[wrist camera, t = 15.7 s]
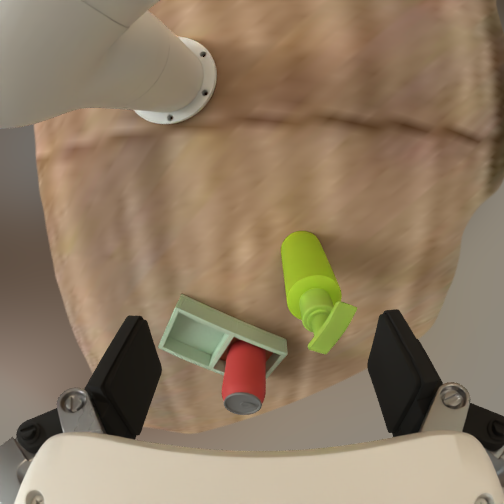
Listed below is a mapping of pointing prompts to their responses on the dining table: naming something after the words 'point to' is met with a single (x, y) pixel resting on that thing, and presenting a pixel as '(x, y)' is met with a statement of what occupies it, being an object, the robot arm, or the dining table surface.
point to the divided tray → (215, 336)
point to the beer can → (244, 378)
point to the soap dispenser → (314, 291)
